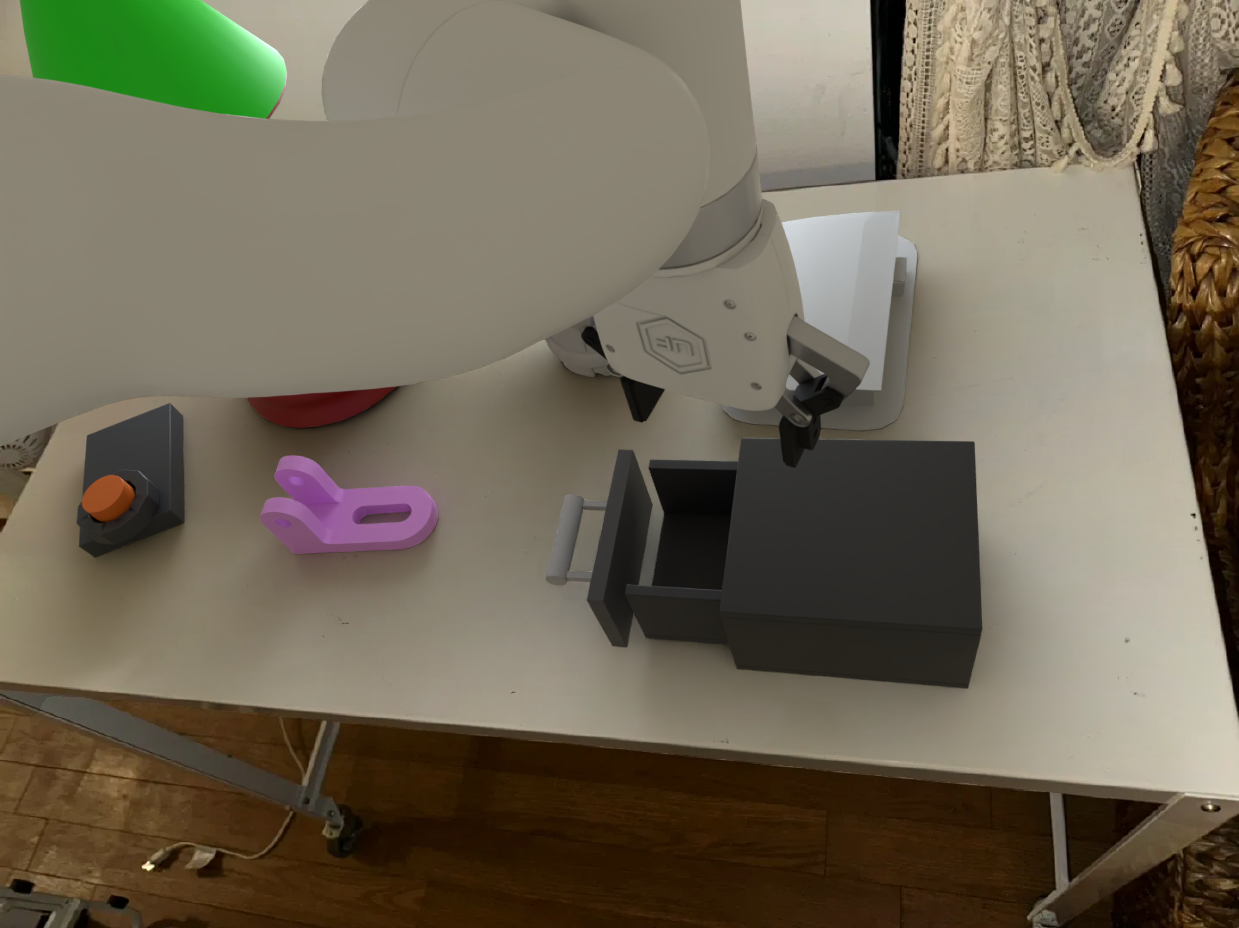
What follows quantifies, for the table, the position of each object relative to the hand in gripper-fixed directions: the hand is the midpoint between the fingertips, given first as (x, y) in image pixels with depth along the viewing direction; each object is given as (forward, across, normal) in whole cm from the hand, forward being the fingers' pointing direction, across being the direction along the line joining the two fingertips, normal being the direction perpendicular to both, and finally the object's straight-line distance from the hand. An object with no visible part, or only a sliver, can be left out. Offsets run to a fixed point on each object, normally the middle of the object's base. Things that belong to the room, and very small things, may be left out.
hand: (722, 425), depth 54 cm
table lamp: (+20, -50, +8) cm, 54 cm away
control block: (+19, -59, -12) cm, 64 cm away
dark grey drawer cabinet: (+19, +7, +2) cm, 21 cm away
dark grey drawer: (+18, -4, -2) cm, 19 cm away
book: (+19, -4, +25) cm, 32 cm away
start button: (+16, -56, -16) cm, 60 cm away
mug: (+19, -26, +17) cm, 37 cm away
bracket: (+20, -33, -8) cm, 39 cm away
